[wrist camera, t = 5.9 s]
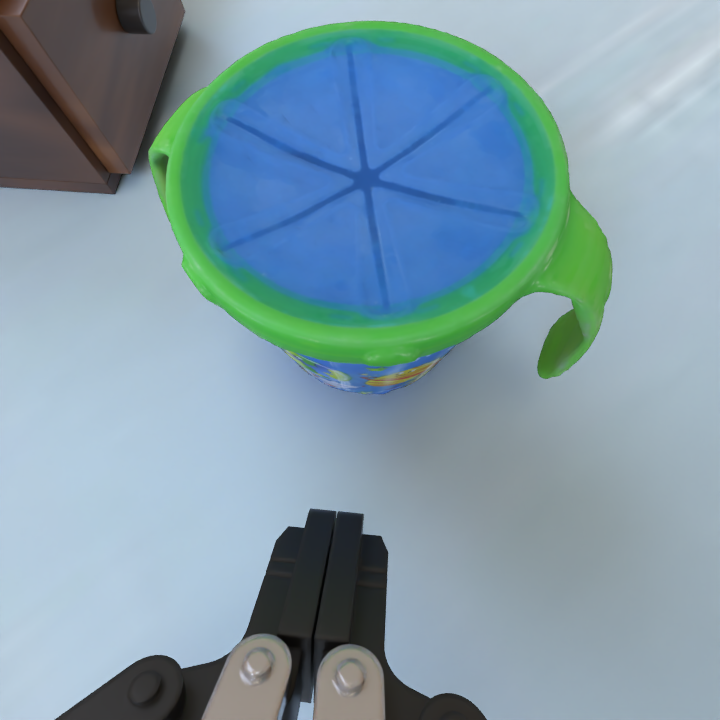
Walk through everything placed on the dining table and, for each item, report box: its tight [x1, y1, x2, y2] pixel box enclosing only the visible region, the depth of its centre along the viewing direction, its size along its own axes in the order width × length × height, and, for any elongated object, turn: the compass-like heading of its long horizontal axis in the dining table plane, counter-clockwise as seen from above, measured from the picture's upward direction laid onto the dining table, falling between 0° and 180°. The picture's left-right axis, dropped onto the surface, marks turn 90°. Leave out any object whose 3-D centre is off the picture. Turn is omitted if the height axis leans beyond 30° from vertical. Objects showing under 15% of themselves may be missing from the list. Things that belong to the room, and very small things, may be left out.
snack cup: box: [148, 21, 612, 394], centre depth 16 cm, size 16×10×10 cm
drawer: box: [0, 0, 185, 174], centre depth 22 cm, size 13×12×8 cm
